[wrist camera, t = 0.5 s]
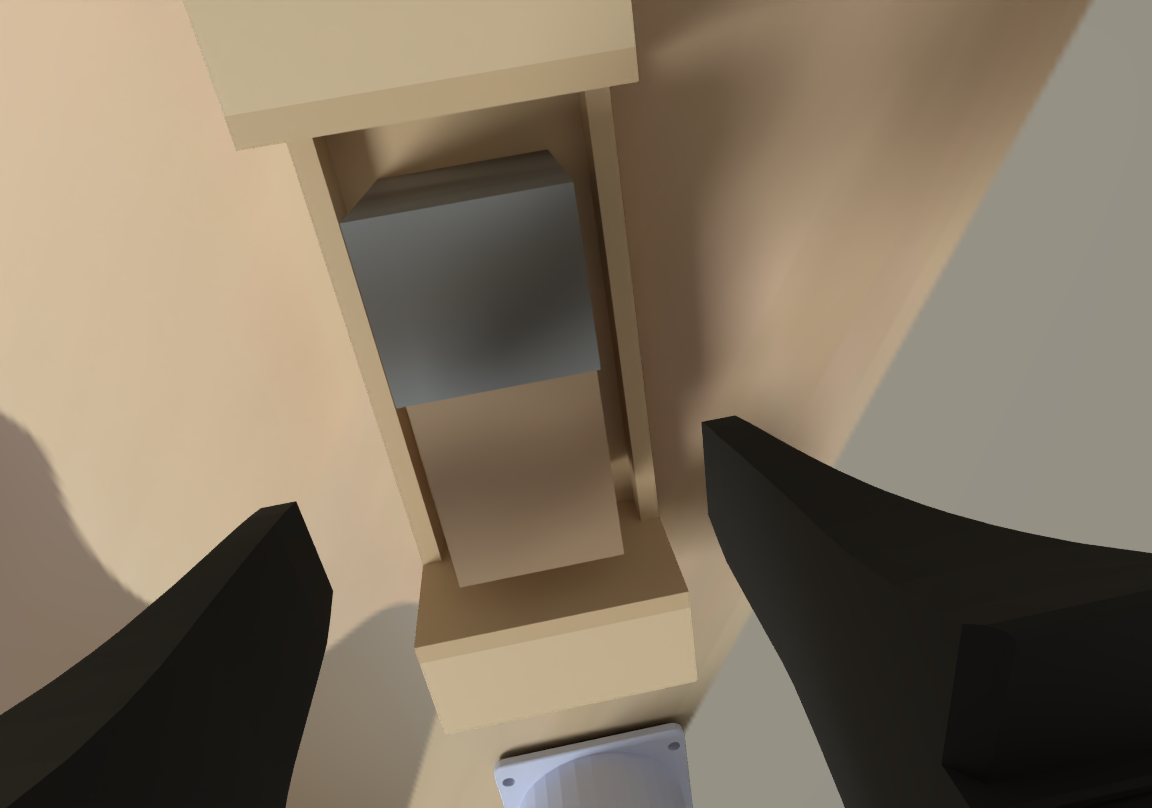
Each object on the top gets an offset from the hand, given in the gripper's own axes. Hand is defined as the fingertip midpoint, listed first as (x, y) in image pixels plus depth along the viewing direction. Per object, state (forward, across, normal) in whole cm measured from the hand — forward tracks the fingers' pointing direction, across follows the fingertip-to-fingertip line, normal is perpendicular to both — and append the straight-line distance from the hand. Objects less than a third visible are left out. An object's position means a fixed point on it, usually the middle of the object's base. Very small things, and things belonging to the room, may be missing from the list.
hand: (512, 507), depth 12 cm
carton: (+9, 0, 0) cm, 9 cm away
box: (+9, 0, 0) cm, 9 cm away
